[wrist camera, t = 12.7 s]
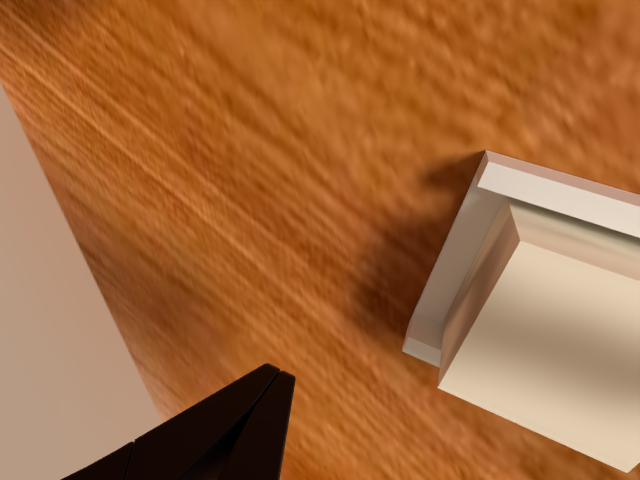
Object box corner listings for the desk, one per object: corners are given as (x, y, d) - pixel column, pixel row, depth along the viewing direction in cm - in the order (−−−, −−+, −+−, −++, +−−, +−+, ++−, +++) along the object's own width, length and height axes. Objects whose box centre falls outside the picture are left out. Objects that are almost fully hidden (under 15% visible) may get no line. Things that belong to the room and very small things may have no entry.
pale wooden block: (601, 381, 17) (645, 481, 13) (444, 317, 19) (437, 388, 15) (709, 260, 14) (815, 341, 10) (506, 195, 15) (520, 240, 11)
